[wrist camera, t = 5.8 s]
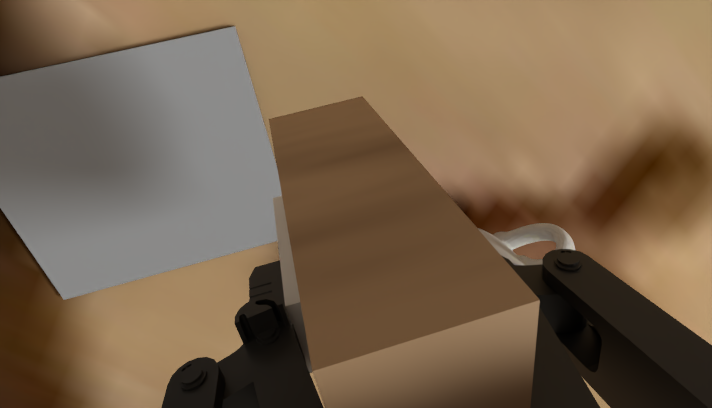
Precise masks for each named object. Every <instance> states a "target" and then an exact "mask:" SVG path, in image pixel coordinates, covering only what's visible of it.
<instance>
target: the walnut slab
mask: <svg viewBox="0 0 712 408" xmlns="http://www.w3.org/2000/svg"><path fill="white" fill-rule="evenodd" d="M269 123H270V129H271V134H272V140H273V146H274V152H275V158H276V163H277V169H278V175H279V181H280V187H281V192H282V198H283V204H284V210H285V216H286V222H287V227H288V233H289V239H290V245H291V251H292V256H293V262H294V268H295V274H296V280H297V285H298V291H299V297H300V303H301V309H302V315H303V320H304V326H305V332H306V338H307V344H308V349H309V355H310V361H311V367H312V372H313V375H314V378H315V380H316V383H317V386H318V389H319V392H320V394H321V397H322V400H323V403H324V406H325V408H530V406H531V394H532V383H533V372H534V361H535V350H536V338H537V327H538V316H539V305H540V300H539V298H538V297H537V296H536V295H535V294H534V293H533V292H532V290H531V289H530V288H529V287H528V286H527V285H526V284H525V282H524V281H523V280H522V279H521V278H520V277H519V276H518V274H517V273H516V272H515V271H514V270H513V269H512V267H511V266H510V265H509V264H508V263H507V262H506V261H505V259H504V258H503V257H502V256H501V255H500V254H499V253H498V251H497V250H496V249H495V248H494V247H493V246H492V245H491V243H490V242H489V241H488V240H487V239H486V238H485V237H484V235H483V234H482V233H481V232H480V231H479V230H478V228H477V227H476V226H475V225H474V224H473V223H472V222H471V220H470V219H469V218H468V217H467V216H466V215H465V214H464V212H463V211H462V210H461V209H460V208H459V207H458V206H457V204H456V203H455V202H454V201H453V200H452V199H451V198H450V196H449V195H448V194H447V193H446V192H445V191H444V190H443V188H442V187H441V186H440V185H439V184H438V183H437V181H436V180H435V179H434V178H433V177H432V176H431V175H430V173H429V172H428V171H427V170H426V169H425V168H424V167H423V165H422V164H421V163H420V162H419V161H418V160H417V159H416V157H415V156H414V155H413V154H412V153H411V152H410V151H409V149H408V148H407V147H406V146H405V145H404V144H403V143H402V141H401V140H400V139H399V138H398V137H397V136H396V134H395V133H394V132H393V131H392V130H391V129H390V128H389V126H388V125H387V124H386V123H385V122H384V121H383V120H382V118H381V117H380V116H379V115H378V114H377V113H376V112H375V110H374V109H373V108H372V107H371V106H370V105H369V104H368V102H367V101H366V100H365V99H364V98H363V97H358V98H354V99H350V100H346V101H341V102H337V103H333V104H329V105H325V106H321V107H317V108H313V109H309V110H305V111H300V112H296V113H292V114H288V115H284V116H280V117H276V118H272V119H269Z"/></svg>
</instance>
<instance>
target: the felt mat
mask: <svg viewBox="0 0 712 408" xmlns="http://www.w3.org/2000/svg"><path fill="white" fill-rule="evenodd" d="M279 196H282V192H281V187H280V181H279V175H278V169H277V165H276V162H275V158H274V155H273V152H272V148H271V145H270V142H269V138H268V135H267V132H266V128H265V125H264V122H263V118H262V115H261V112H260V108H259V105H258V102H257V98H256V95H255V92H254V88H253V85H252V81H251V78H250V75H249V71H248V68H247V65H246V61H245V58H244V55H243V51H242V48H241V45H240V41H239V38H238V35H237V31H236V28H235V26H232V27H227V28H223V29H218V30H213V31H209V32H204V33H200V34H195V35H190V36H186V37H181V38H177V39H172V40H167V41H163V42H158V43H153V44H149V45H144V46H140V47H135V48H130V49H126V50H121V51H117V52H112V53H107V54H103V55H98V56H94V57H89V58H84V59H80V60H75V61H71V62H66V63H61V64H57V65H52V66H47V67H43V68H38V69H34V70H29V71H24V72H20V73H15V74H11V75H6V76H1V77H0V208H1V210H2V211H3V213H4V214H5V215H6V217H7V218H8V220H9V221H10V223H11V224H12V226H13V227H14V228H15V230H16V231H17V233H18V234H19V236H20V237H21V239H22V240H23V241H24V243H25V244H26V246H27V247H28V249H29V250H30V252H31V253H32V254H33V256H34V257H35V259H36V260H37V262H38V263H39V265H40V266H41V267H42V269H43V270H44V272H45V273H46V275H47V276H48V278H49V279H50V280H51V282H52V283H53V285H54V286H55V288H56V289H57V291H58V292H59V293H60V295H61V296H62V298H63V299H64V300H65V299H69V298H72V297H76V296H80V295H83V294H87V293H91V292H94V291H98V290H101V289H105V288H109V287H112V286H116V285H120V284H123V283H127V282H130V281H134V280H138V279H141V278H145V277H149V276H152V275H156V274H159V273H163V272H167V271H170V270H174V269H178V268H181V267H185V266H188V265H192V264H196V263H199V262H203V261H207V260H210V259H214V258H217V257H221V256H225V255H228V254H232V253H235V252H239V251H243V250H246V249H250V248H254V247H257V246H261V245H264V244H268V243H272V242H275V241H278V240H277V231H276V223H275V214H274V206H273V198H275V197H279Z"/></svg>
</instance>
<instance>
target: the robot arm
mask: <svg viewBox="0 0 712 408" xmlns="http://www.w3.org/2000/svg"><path fill="white" fill-rule="evenodd" d="M273 206H274V214H275V223H276V231H277V240H278V249H279V257H280V261H276V262H273V263H269V264H265V265H262V266H258V267H255V269H254V270H253V272H252V274H251V276H250V278H249V289H250V290H249V297H250V299H249V302H248V303H246V304H245V305H244V306H243V307H241V308H240V309H239V311H238V312H237V314H236V316H235V325H236V328H237V330H238V332H239V334H240V337H241V339H242V341H243V343H244V344H243V345H242V346H241V347H240V348H239V349H238V350H237V351H236V352H234V353H233V354H231V355H230V356H228V357H226V358H224V359H223V360H221V361H219V362H217V363H216V361H215V360H214V359H211V358H208V357H203V358H196V359H194V360H191V361H189V362H187V363H186V364H184V365H183V366H181V367H180V368H179V369H178V370H177V371H176V372H175V373H174V374H173V375H172V377H171V379H170V381H169V383H168V386H167V389H166V393H165V397H164V401H163V404H162V408H323V406H322V403H321V401H320V398H319V396H318V393H317V391H316V388H315V386H314V383H313V381H312V378H311V376H310V373H311V372H312V367H311V361H310V355H309V349H308V344H307V338H306V332H305V326H304V320H303V315H302V309H301V303H300V297H299V291H298V285H297V280H296V274H295V268H294V262H293V256H292V251H291V245H290V239H289V233H288V227H287V222H286V216H285V210H284V204H283V198H282V196H279V197H275V198H273ZM502 257H503V256H502ZM503 258H504V259H505V261H506V262H507V263H508V264H509V265H510V266H511V267H512V269H513V270H514V271H515V272H516V273H517V274H518V276H519V277H520V278H521V279H522V280H523V281H524V282H525V284H526V285H527V286H528V287H529V288H530V289H531V290H532V292H533V293H534V294H535V295H536V296H537V297H538V298H539V300H540V305H539V316H538V327H537V338H536V350H535V361H534V372H533V383H532V394H531V406H530V408H600V407H599V405H598V403H597V402H596V400H595V398H594V397H593V395H592V393H591V392H590V390H589V388H588V387H587V385H586V383H585V382H584V380H585V381H586V382H587V383H588V384H589V385H590V386H591V387H592V388H593V389H594V390H595V391H596V392H597V393H598V394H599V396H600V397H601V398H602V399H603V400H604V401H605V402H606V403H607V404H608V405H609V406H610V407H611V408H712V345H710V344H709V343H708V342H706V341H705V340H704V339H702V338H701V337H699V336H698V335H697V334H695V333H694V332H692V331H691V330H690V329H688V328H687V327H686V326H684V325H683V324H681V323H680V322H679V321H677V320H676V319H674V318H673V317H672V316H670V315H669V314H668V313H666V312H665V311H663V310H662V309H661V308H659V307H658V306H656V305H655V304H654V303H652V302H651V301H650V300H648V299H647V298H645V297H644V296H643V295H641V294H640V293H639V292H637V291H636V290H634V289H633V288H632V287H630V286H629V285H627V284H626V283H625V282H623V281H622V280H621V279H619V278H618V277H616V276H615V275H614V274H612V273H611V272H609V271H608V270H607V269H605V268H604V267H603V266H601V265H600V264H598V263H597V262H596V261H594V260H593V259H591V258H590V257H589V256H587V255H585V254H583V253H581V252H579V251H575V250H572V249H557V250H552V251H550V252H548V253H547V254H545V256H544V257H543V260H542V264H539V265H514V264H513V263H512V262H511V261H510V260H509V259H508V258H505V257H503ZM581 376H582V377H583V378H584V380H583V378H582V377H581Z"/></svg>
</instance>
